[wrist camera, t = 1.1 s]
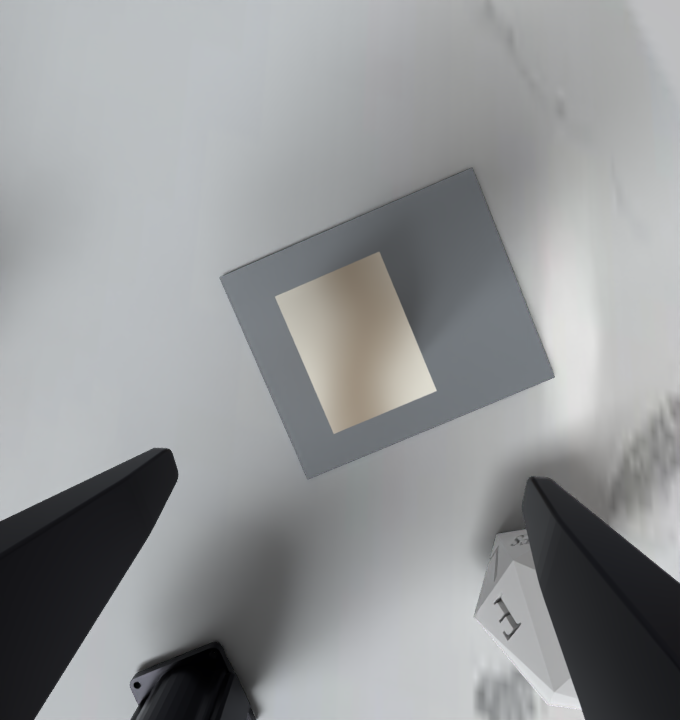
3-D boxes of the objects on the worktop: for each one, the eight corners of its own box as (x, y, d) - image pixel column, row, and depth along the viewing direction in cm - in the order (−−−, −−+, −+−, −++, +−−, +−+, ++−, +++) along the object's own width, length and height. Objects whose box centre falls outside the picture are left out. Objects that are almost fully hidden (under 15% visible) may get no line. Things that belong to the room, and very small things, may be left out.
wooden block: (337, 400, 22) (333, 433, 14) (299, 313, 22) (274, 296, 14) (402, 372, 22) (436, 391, 14) (365, 284, 22) (379, 251, 14)
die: (532, 469, 23) (498, 563, 16) (693, 560, 19) (752, 746, 12) (481, 549, 27) (433, 658, 19) (609, 642, 22) (612, 827, 15)
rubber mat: (308, 477, 23) (307, 479, 22) (220, 278, 22) (219, 277, 22) (551, 376, 22) (554, 377, 22) (470, 169, 22) (472, 167, 21)
